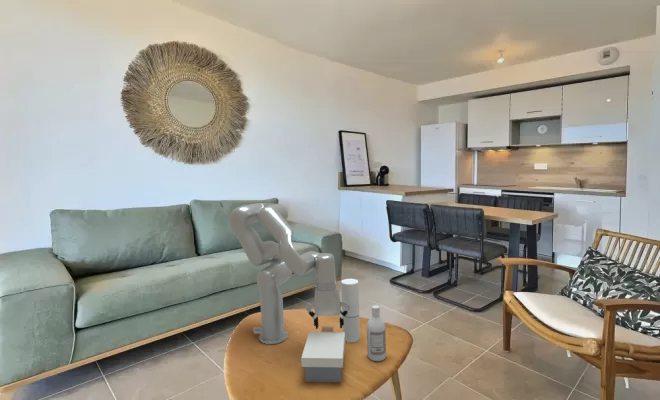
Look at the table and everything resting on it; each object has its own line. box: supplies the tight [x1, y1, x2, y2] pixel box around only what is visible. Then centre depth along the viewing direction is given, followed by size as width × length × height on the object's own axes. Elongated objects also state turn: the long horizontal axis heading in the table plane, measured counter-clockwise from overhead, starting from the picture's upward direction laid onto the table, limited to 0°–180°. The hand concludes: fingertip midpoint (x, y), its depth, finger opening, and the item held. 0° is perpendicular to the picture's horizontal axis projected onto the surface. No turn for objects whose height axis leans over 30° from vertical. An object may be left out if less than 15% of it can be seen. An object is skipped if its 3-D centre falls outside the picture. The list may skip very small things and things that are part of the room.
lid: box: [300, 325, 346, 369], centre depth 126 cm, size 23×14×3 cm, turn 175°
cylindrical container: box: [340, 278, 361, 344], centre depth 144 cm, size 7×7×25 cm
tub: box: [304, 367, 343, 383], centre depth 124 cm, size 16×12×8 cm
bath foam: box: [366, 304, 387, 362], centre depth 129 cm, size 7×7×20 cm
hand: (329, 327), depth 135 cm, fingers open, 9 cm apart
